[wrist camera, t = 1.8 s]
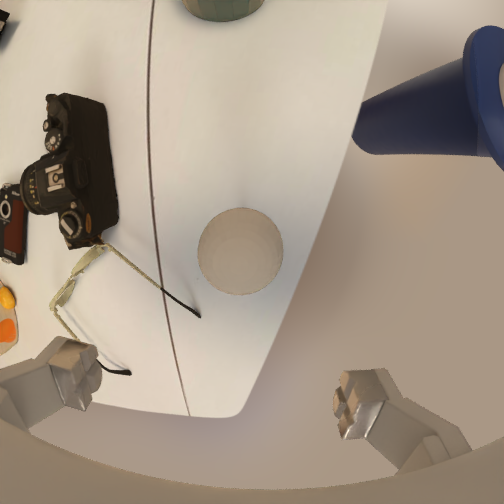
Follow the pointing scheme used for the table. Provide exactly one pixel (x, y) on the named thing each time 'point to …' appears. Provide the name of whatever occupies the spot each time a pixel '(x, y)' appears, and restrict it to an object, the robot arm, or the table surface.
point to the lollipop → (240, 251)
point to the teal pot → (222, 9)
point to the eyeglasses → (79, 268)
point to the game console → (3, 19)
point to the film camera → (74, 171)
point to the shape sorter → (7, 320)
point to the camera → (12, 224)
